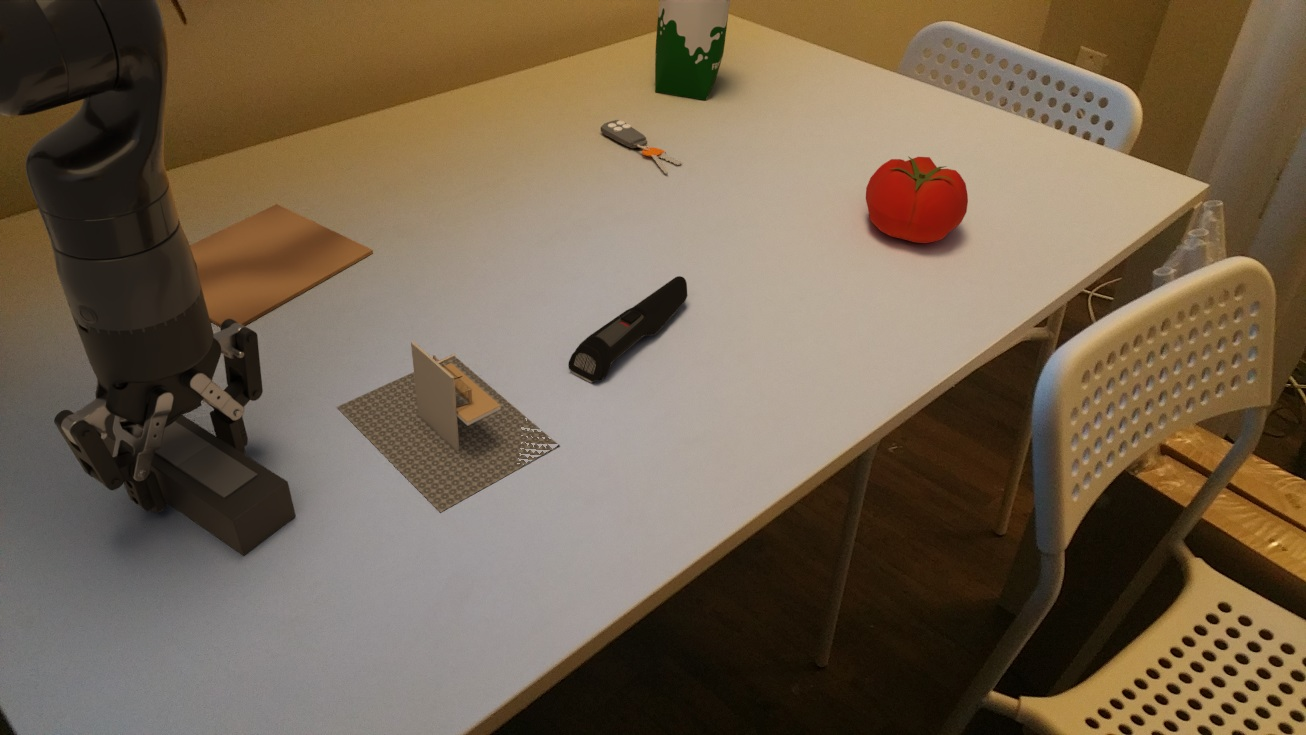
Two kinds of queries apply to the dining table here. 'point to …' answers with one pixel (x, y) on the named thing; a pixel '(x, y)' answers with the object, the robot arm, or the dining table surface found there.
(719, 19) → the milk carton
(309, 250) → the cork mat
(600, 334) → the electric trimmer
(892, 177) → the tomato
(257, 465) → the remote
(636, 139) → the key chain
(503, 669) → the dining table surface
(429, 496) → the architectural model
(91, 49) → the robot arm
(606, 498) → the dining table surface
